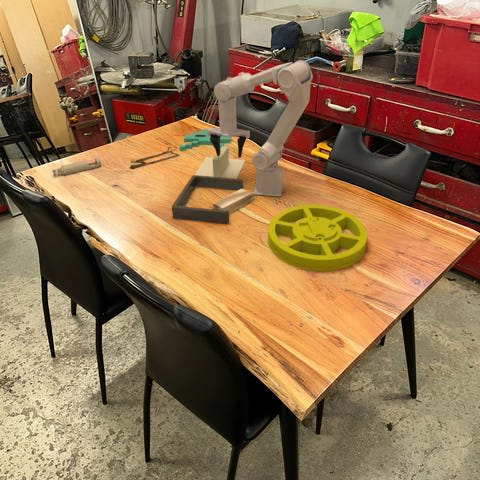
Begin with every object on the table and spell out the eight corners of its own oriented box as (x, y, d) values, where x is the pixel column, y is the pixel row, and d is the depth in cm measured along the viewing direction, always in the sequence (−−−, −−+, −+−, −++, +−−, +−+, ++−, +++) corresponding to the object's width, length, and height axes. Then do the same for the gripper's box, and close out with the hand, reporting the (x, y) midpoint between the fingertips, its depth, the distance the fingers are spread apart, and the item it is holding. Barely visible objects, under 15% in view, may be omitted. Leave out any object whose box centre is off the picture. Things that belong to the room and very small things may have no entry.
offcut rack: (243, 189, 151) (243, 179, 149) (228, 224, 133) (227, 212, 131) (193, 185, 155) (192, 174, 152) (172, 218, 137) (171, 207, 135)
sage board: (229, 163, 167) (228, 146, 163) (220, 177, 158) (219, 160, 154) (222, 163, 168) (222, 146, 164) (213, 177, 158) (212, 159, 154)
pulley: (363, 220, 134) (366, 206, 131) (366, 278, 112) (369, 262, 109) (274, 212, 139) (275, 198, 136) (260, 265, 117) (260, 250, 114)
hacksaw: (131, 170, 166) (130, 167, 165) (120, 161, 173) (120, 158, 172) (186, 154, 177) (186, 151, 176) (174, 146, 184) (173, 143, 183)
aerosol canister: (99, 163, 171) (96, 148, 167) (103, 168, 168) (99, 152, 164) (52, 175, 164) (48, 159, 160) (55, 179, 160) (50, 163, 157)
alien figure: (227, 153, 178) (233, 134, 194) (227, 148, 176) (233, 129, 193) (179, 151, 180) (189, 133, 196) (179, 146, 178) (188, 128, 194)
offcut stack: (255, 200, 146) (255, 191, 144) (222, 219, 136) (221, 209, 134) (243, 195, 149) (243, 185, 147) (209, 213, 140) (209, 203, 137)
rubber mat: (245, 160, 170) (245, 159, 170) (234, 184, 154) (234, 183, 154) (206, 157, 173) (206, 156, 173) (191, 181, 157) (191, 179, 157)
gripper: (203, 120, 143) (206, 159, 150) (246, 123, 140) (247, 162, 148) (209, 113, 148) (211, 150, 156) (250, 116, 145) (251, 153, 153)
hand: (229, 155), depth 152 cm, fingers open, 7 cm apart
